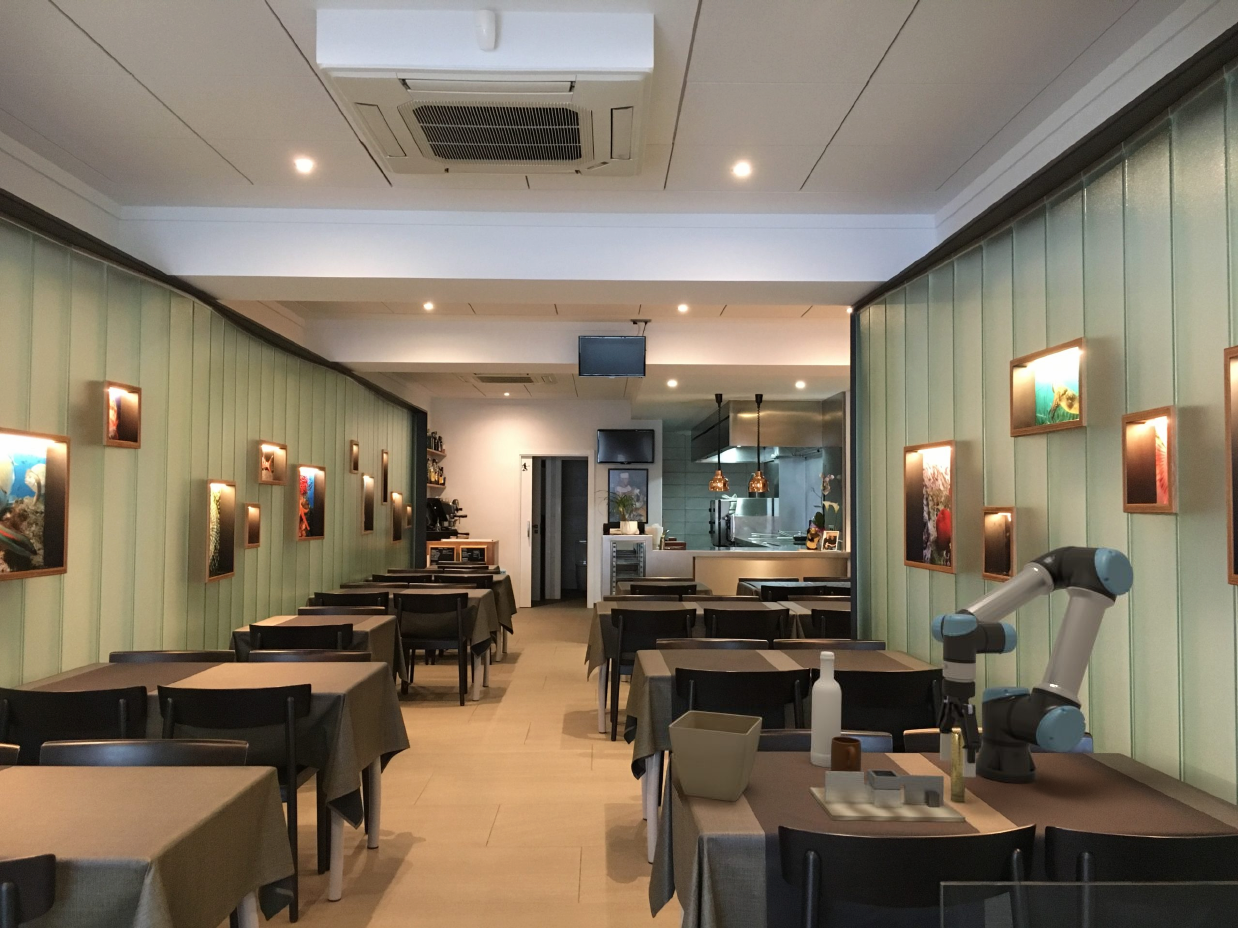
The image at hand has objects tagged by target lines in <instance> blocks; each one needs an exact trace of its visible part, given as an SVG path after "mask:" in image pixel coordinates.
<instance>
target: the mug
mask: <svg viewBox="0 0 1238 928" xmlns="http://www.w3.org/2000/svg"><path fill="white" fill-rule="evenodd" d="M830 771H846V772H862V742H861V740H860V739H858V738H855V737H851V736H841V737H834V738H832V743H831V767H830Z"/></svg>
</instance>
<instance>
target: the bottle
mask: <svg viewBox="0 0 1238 928" xmlns="http://www.w3.org/2000/svg"><path fill="white" fill-rule="evenodd" d="M819 659H820V665H819V666H820V670H819V672H820V673H819V678H818V679H817V680H816V681H815V682H814V684H813V686H812V690H811V735H810V738H811V742H810V743H811V745H810V747H811V748H810V763H811V764H813V765H814V766H817V767H821V768H831V743H832V738H834V737H842V736H841V735H842V733H841V732H842V731H841V730H842V689H841V686H840V684H839V682H838V681H836V680H835V679H834V677H835V659H836V658H835V653H834V652H832V651H821V652H820V656H819Z"/></svg>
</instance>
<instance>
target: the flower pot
mask: <svg viewBox="0 0 1238 928" xmlns="http://www.w3.org/2000/svg"><path fill="white" fill-rule="evenodd" d="M762 722H763V718H762V717H761V716H751V715H740V714H731V713H720V712H713V711H712V712H708V711H700V710H688V711H687V712H685V713H684V714H682V715H681V716H680V717H679V718H677V719H676V720H675V721H673V722H672V723H670V724H669V725H668V731H669V738H670V745H671V751H672V755H673V759H674V764H675V767H676V772H677V775H678V779H679V781H680V785H681V788H682V790H683V793H684V795H685V796H689V797H690V796H691V797H699V798H707V799H714V800H720V801H721V800H722V801H731V802H735V801H738V799H739V798H740V796H741V795H742V794H743V792H744V791H745V790H746V789H747V788H748V784H749V781H750V778H751V775H752V772H753V767H754V764H755V759H756V756H757V752H758V747H759V742H760V738H761V737H760V736H761V732H762V724H763V723H762Z"/></svg>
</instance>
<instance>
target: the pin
mask: <svg viewBox="0 0 1238 928" xmlns="http://www.w3.org/2000/svg"><path fill="white" fill-rule="evenodd" d="M950 734H951V761H950V801H951V802H953V803H958V804H963V803H965V802H966V777H964V776H963V748H962V747H963V746H964V745H965V744H964V740H963V737H962V733H961V731H953V732H951V733H950Z"/></svg>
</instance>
